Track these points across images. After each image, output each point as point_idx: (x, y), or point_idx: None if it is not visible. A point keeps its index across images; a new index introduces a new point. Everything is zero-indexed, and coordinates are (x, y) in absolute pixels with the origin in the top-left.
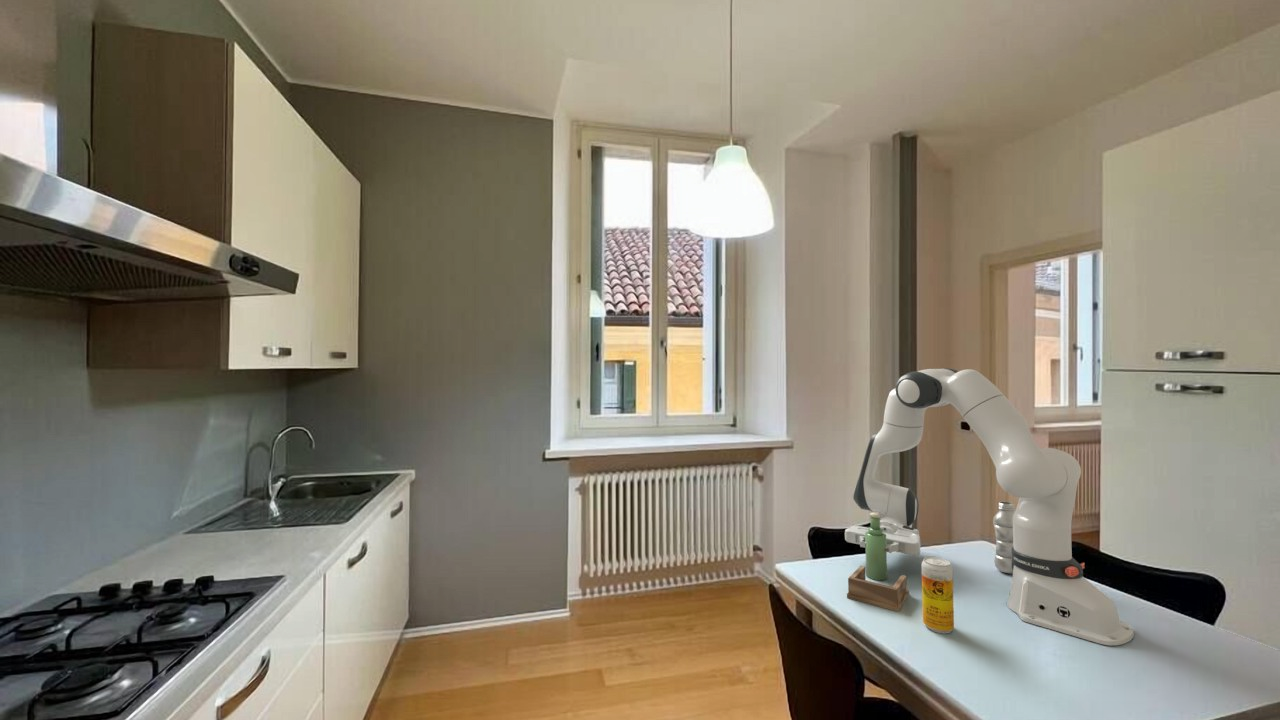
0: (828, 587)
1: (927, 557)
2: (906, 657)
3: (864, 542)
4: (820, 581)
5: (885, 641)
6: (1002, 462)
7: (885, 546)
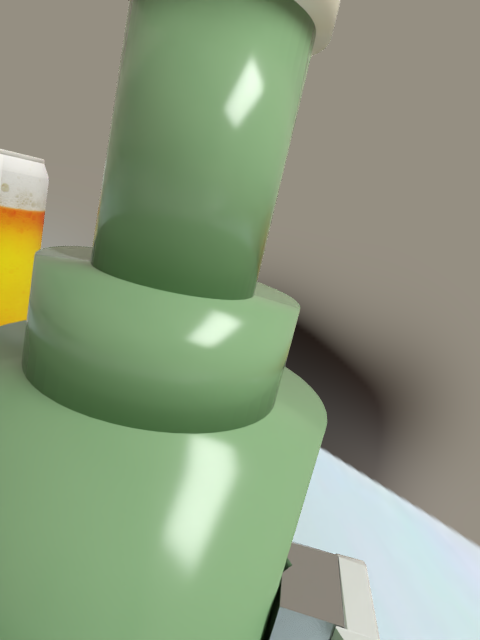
0: (354, 526)
1: (15, 153)
2: None
3: (292, 542)
4: (424, 580)
5: None
6: None
7: None
